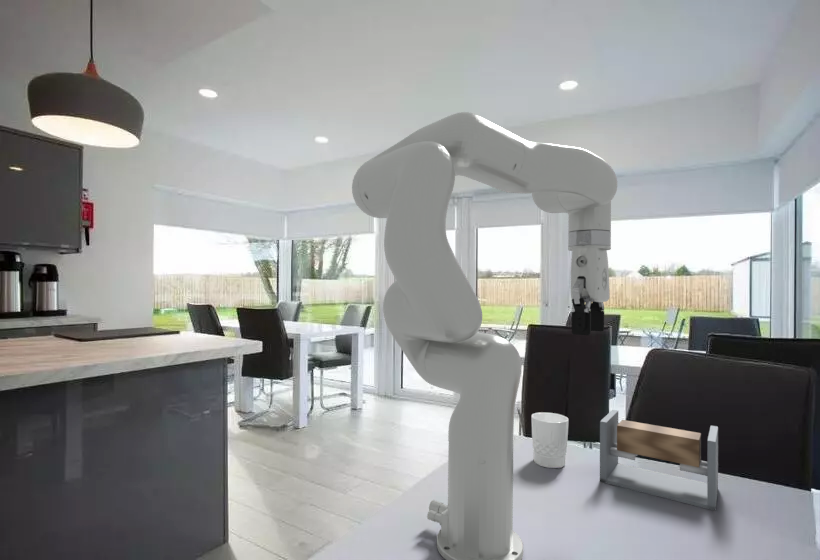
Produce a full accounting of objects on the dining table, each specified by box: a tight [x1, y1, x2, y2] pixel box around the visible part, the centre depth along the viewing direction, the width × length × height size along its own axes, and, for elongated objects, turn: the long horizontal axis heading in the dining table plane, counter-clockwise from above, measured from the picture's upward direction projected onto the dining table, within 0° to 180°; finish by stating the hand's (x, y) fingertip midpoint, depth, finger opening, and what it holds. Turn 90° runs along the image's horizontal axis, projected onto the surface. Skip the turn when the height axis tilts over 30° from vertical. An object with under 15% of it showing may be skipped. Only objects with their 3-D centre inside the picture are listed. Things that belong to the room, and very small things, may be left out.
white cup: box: [531, 411, 569, 469], centre depth 99 cm, size 8×8×10 cm
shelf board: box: [617, 419, 702, 467], centre depth 88 cm, size 14×5×5 cm, turn 54°
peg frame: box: [599, 409, 719, 511], centre depth 88 cm, size 19×11×12 cm, turn 54°
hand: (588, 332), depth 84 cm, fingers open, 9 cm apart
